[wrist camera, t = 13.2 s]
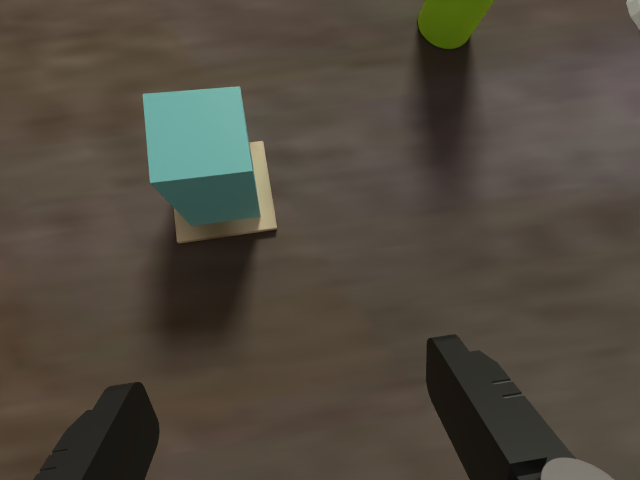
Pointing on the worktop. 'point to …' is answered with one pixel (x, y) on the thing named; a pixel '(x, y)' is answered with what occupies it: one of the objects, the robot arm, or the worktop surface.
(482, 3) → the soap dispenser
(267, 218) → the post
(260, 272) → the worktop surface
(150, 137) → the teal tower prism
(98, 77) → the worktop surface
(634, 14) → the french press
